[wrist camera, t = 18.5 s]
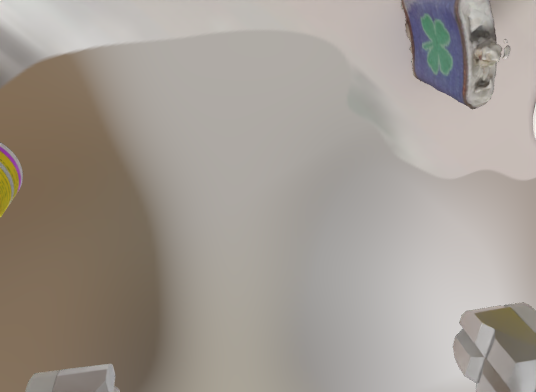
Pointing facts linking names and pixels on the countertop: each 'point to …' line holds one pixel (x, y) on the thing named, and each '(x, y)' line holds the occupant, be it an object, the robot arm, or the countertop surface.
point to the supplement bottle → (8, 177)
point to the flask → (454, 47)
